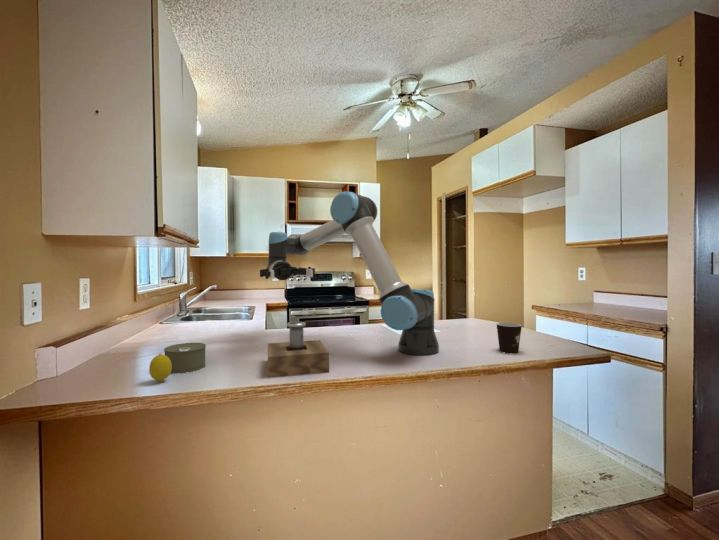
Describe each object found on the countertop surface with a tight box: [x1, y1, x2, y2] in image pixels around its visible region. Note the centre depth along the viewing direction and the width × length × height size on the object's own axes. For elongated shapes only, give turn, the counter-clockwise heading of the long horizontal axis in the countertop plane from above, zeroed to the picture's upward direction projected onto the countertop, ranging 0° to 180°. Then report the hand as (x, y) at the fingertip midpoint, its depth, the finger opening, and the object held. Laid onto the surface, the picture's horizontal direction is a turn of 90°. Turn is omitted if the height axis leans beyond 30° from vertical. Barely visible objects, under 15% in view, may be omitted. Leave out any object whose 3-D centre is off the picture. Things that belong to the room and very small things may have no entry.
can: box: [163, 342, 207, 374], centre depth 113 cm, size 12×12×7 cm
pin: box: [286, 321, 306, 351], centre depth 114 cm, size 6×6×14 cm
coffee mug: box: [496, 322, 523, 354], centre depth 132 cm, size 12×9×10 cm
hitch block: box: [267, 339, 330, 378], centre depth 114 cm, size 18×18×6 cm
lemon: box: [148, 353, 172, 383], centre depth 100 cm, size 6×6×8 cm
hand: (292, 274), depth 123 cm, fingers open, 13 cm apart
